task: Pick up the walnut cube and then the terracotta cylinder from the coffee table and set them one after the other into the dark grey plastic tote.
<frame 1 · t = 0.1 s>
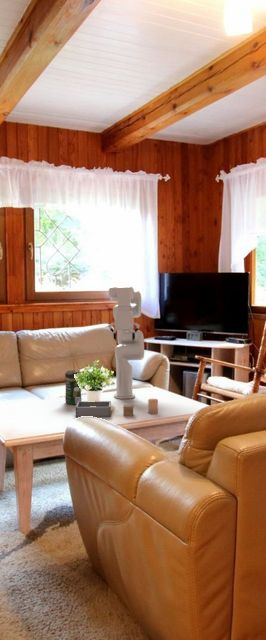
hand: (124, 340, 292), 37 cm above the table, tool pointing down, fingers open, 9 cm apart
tote: (93, 413, 279), on the table
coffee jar: (73, 403, 302), on the table
terracotta cylinder: (153, 412, 280), on the table
walnut cube: (128, 415, 276), on the table
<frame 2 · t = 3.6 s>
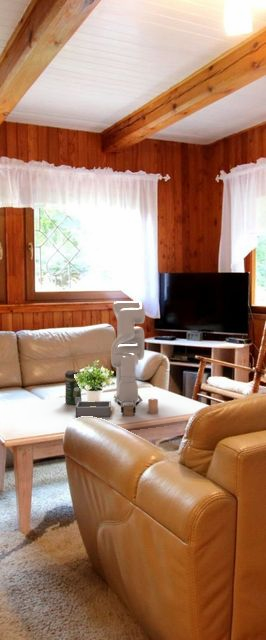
hand: (128, 413, 276), 1 cm above the table, tool pointing down, fingers closed on walnut cube, 5 cm apart
walnut cube: (128, 414, 276), on the table, touching gripper
everything else where it was.
when the fingers open (5 cm above the table, at t = 8.0 s): walnut cube drops 4 cm, resting on tote.
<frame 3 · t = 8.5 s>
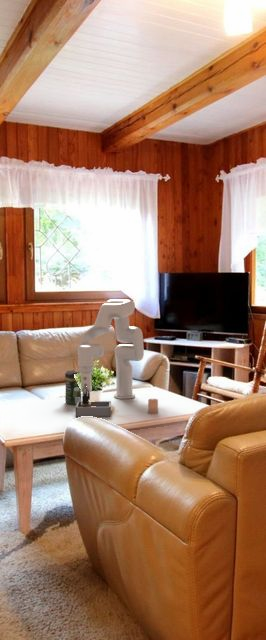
hand: (86, 401, 278), 6 cm above the table, tool pointing down, fingers open, 9 cm apart
walnut cube: (86, 412, 279), resting on tote
everything else where it was.
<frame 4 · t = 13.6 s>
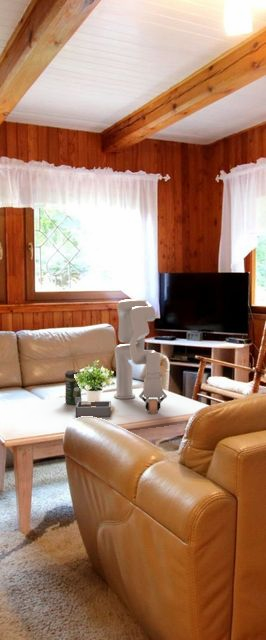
hand: (153, 409, 280), 2 cm above the table, tool pointing down, fingers closed on terracotta cylinder, 5 cm apart
terracotta cylinder: (153, 412, 280), on the table, touching gripper
everything else where it was.
when the fingers open (5 cm above the table, at t = 18.1 s): terracotta cylinder drops 3 cm, resting on tote.
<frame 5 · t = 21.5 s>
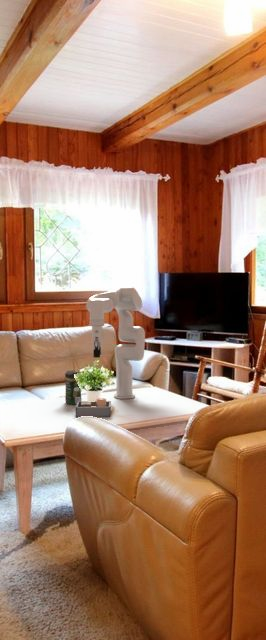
hand: (97, 356, 276), 30 cm above the table, tool pointing down, fingers open, 9 cm apart
terracotta cylinder: (101, 412, 279), resting on tote
everything else where it was.
at the end: walnut cube inside the target area on the tote (4.0 cm from its centre), point 0.5 cm above the tote's base; terracotta cylinder inside the target area on the tote (4.0 cm from its centre), point 0.5 cm above the tote's base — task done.
